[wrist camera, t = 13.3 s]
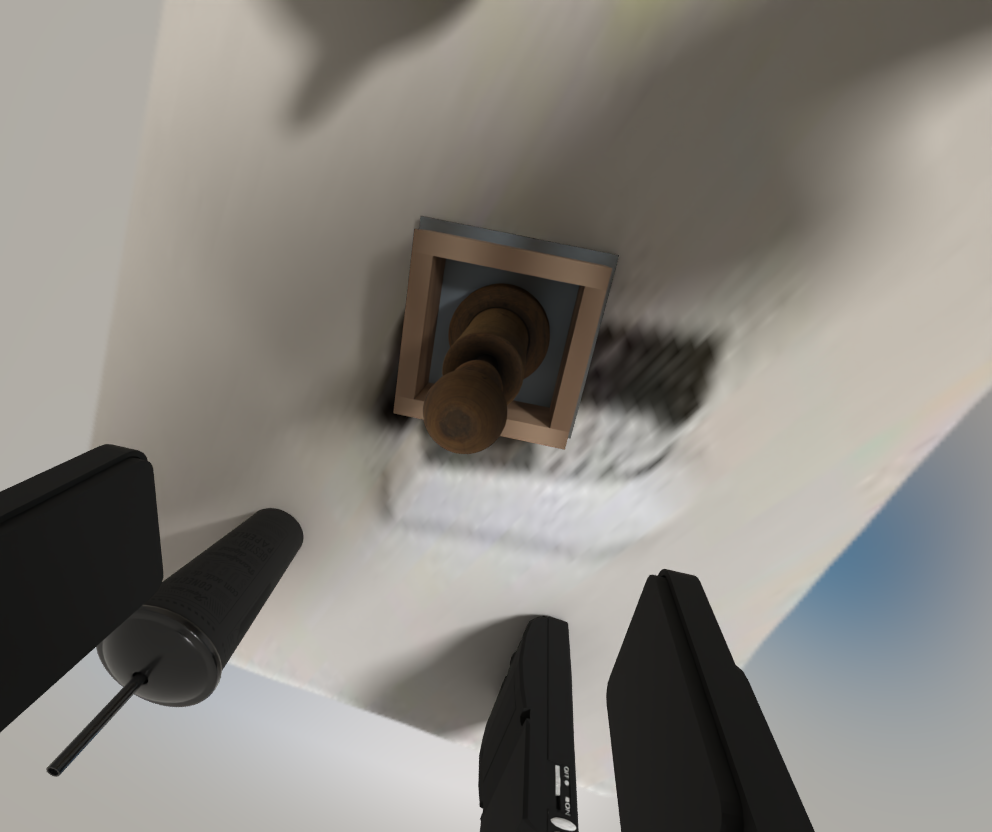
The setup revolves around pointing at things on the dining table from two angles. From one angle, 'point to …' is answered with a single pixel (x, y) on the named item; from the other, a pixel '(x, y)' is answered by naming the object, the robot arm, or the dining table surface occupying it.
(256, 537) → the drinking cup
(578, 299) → the socket
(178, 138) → the dining table surface
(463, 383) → the wooden chess pawn
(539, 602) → the dining table surface
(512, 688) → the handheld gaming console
